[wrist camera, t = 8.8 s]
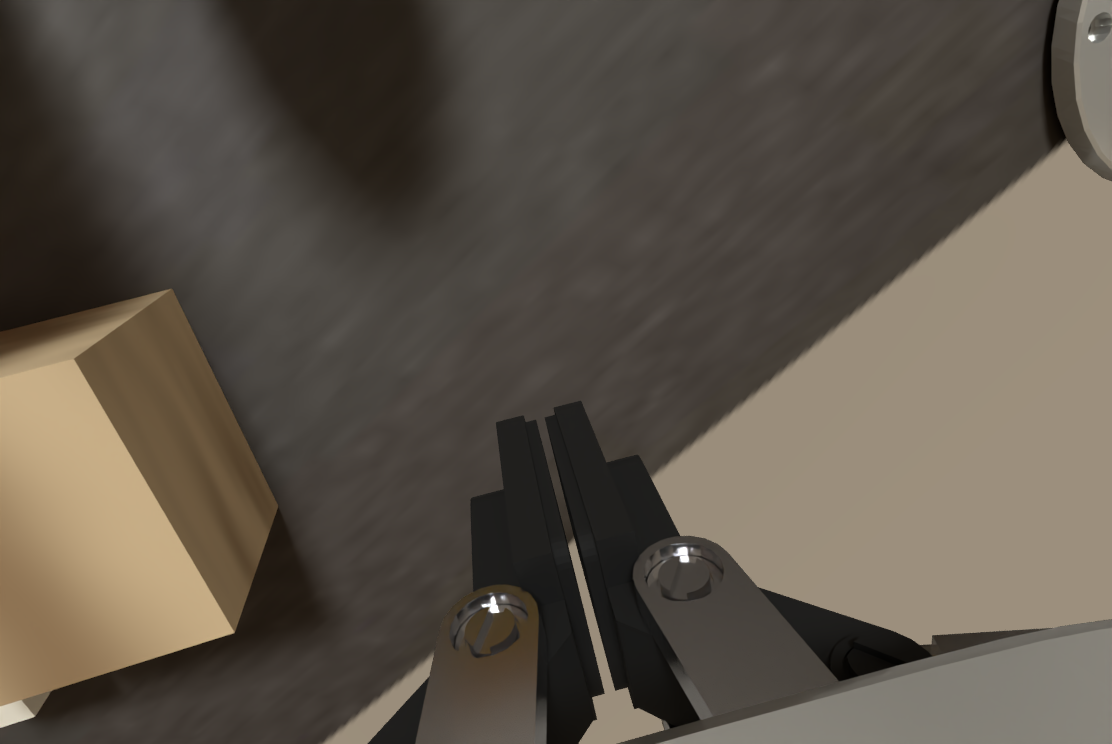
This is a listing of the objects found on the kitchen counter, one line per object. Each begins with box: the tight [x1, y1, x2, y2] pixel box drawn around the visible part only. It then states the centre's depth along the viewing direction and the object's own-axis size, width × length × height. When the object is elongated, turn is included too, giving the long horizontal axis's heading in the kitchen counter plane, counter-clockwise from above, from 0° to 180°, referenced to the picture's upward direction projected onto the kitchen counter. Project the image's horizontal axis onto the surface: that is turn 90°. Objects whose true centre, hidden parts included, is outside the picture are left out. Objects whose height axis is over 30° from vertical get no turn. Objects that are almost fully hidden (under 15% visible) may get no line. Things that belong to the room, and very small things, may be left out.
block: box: [0, 289, 278, 706], centre depth 17 cm, size 8×8×6 cm
